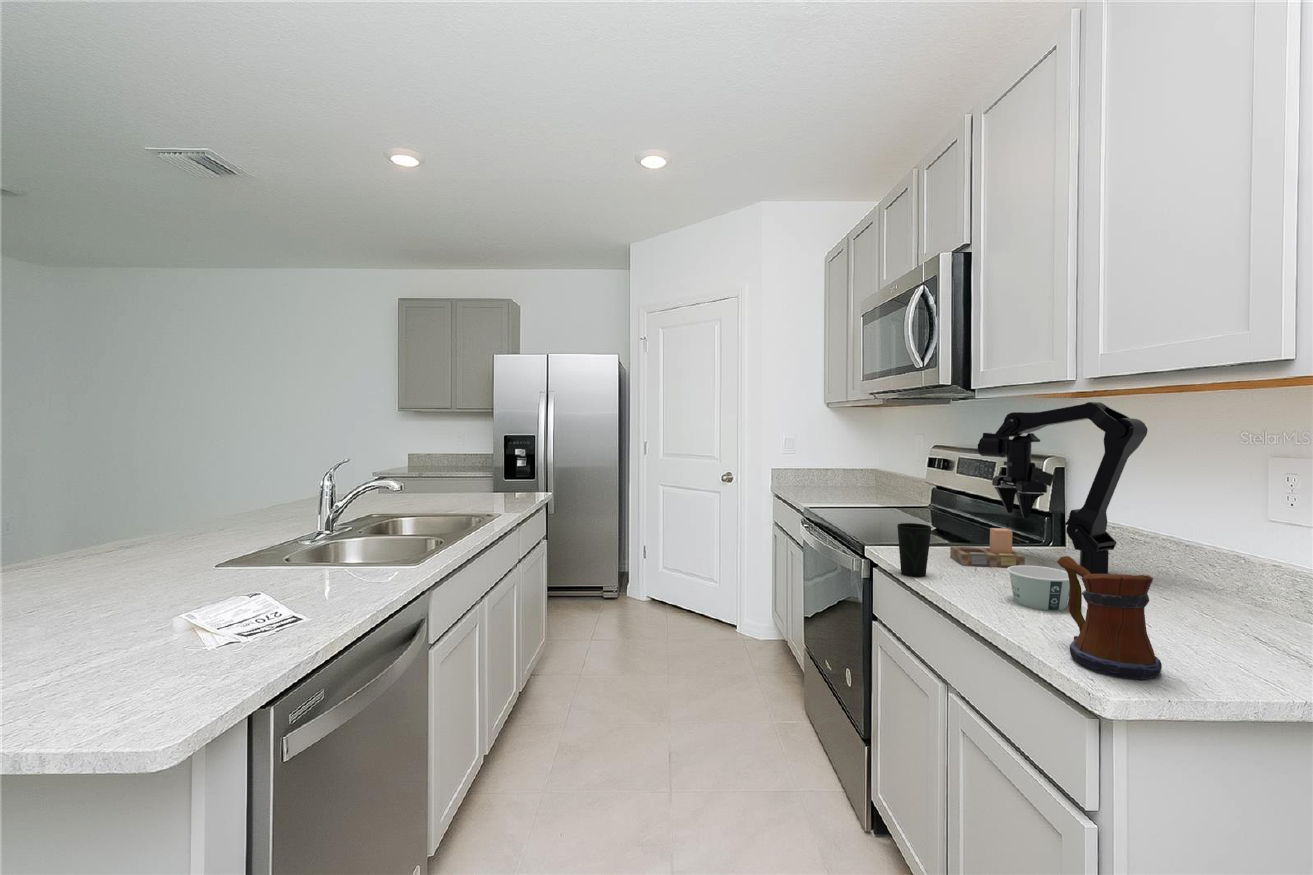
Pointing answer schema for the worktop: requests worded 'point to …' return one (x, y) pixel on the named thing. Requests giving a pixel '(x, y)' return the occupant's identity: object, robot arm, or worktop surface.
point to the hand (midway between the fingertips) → (1017, 515)
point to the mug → (1111, 623)
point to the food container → (1040, 587)
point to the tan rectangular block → (1000, 541)
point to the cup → (913, 548)
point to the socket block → (985, 557)
